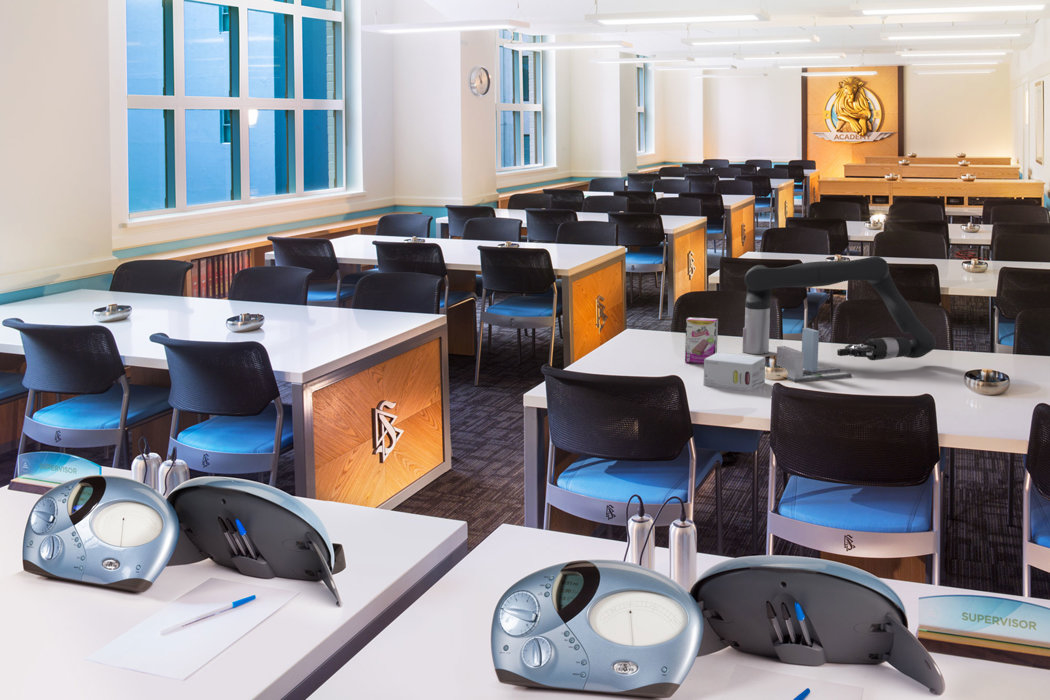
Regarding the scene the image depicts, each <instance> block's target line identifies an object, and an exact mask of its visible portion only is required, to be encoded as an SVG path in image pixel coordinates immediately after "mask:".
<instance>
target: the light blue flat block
mask: <svg viewBox="0 0 1050 700" xmlns="http://www.w3.org/2000/svg"><path fill="white" fill-rule="evenodd" d="M819 339H820V330H816V329H812V328H811V327H810V328H809V327H802V336H801V352H804V357H803V370H805V369H806V370H808V371H811V372H814V373H816V374H818V375H821V373H818V372H817V368H818V363H819V341H820V340H819Z"/></svg>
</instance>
